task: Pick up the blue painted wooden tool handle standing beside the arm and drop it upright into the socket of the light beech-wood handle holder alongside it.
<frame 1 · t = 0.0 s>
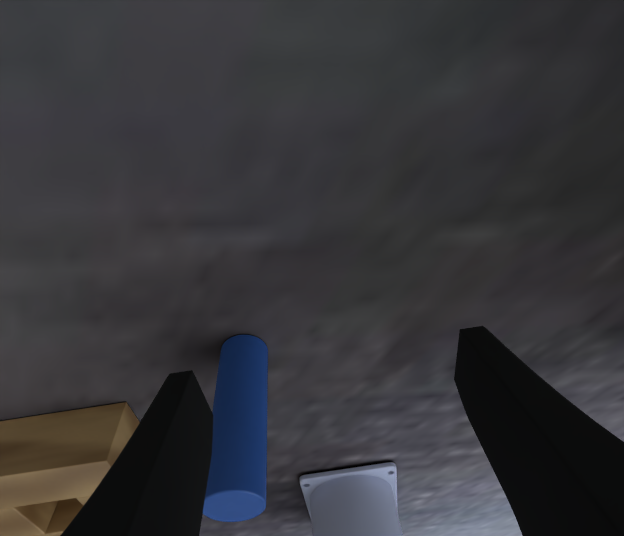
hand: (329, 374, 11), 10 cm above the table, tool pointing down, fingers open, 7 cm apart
handle: (244, 350, 25), on the table
holder: (82, 458, 30), on the table
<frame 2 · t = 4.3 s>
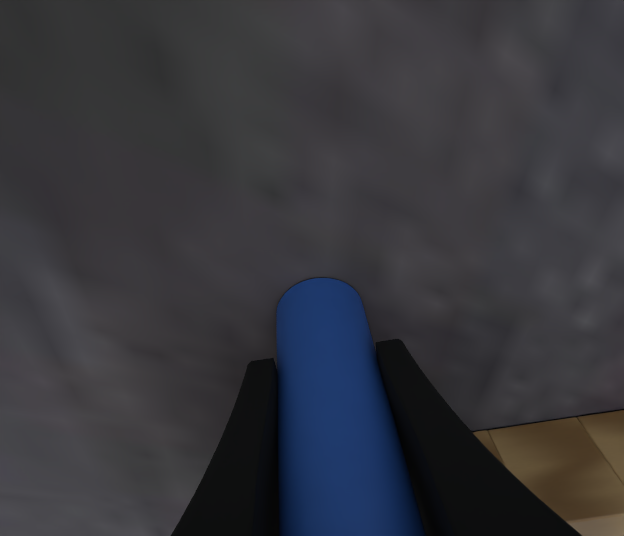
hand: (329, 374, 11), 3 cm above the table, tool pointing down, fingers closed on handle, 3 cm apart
handle: (319, 310, 13), on the table, touching gripper
holder: (512, 483, 21), on the table
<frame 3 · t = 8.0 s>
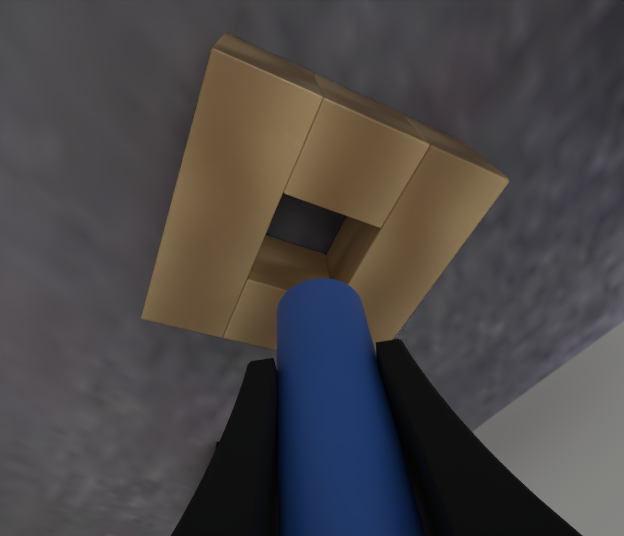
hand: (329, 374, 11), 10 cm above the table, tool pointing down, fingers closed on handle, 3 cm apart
handle: (319, 311, 13), point 7 cm above the table, touching gripper
holder: (305, 207, 19), on the table
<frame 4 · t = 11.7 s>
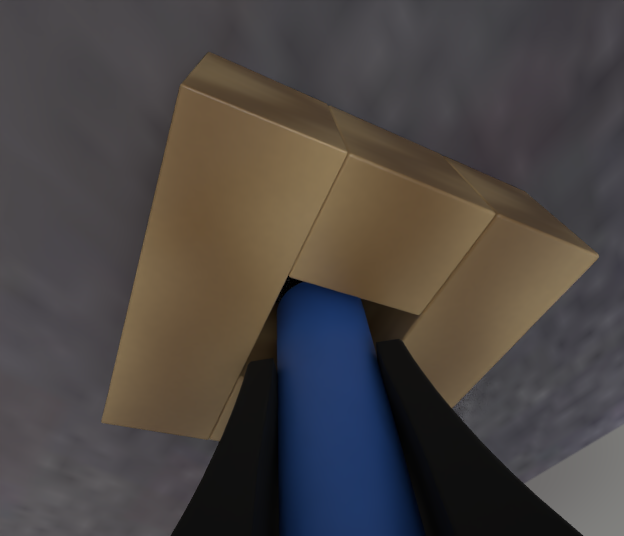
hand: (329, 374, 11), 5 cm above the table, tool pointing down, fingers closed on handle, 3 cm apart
handle: (319, 311, 13), point 2 cm above the table, touching gripper
holder: (314, 268, 15), on the table
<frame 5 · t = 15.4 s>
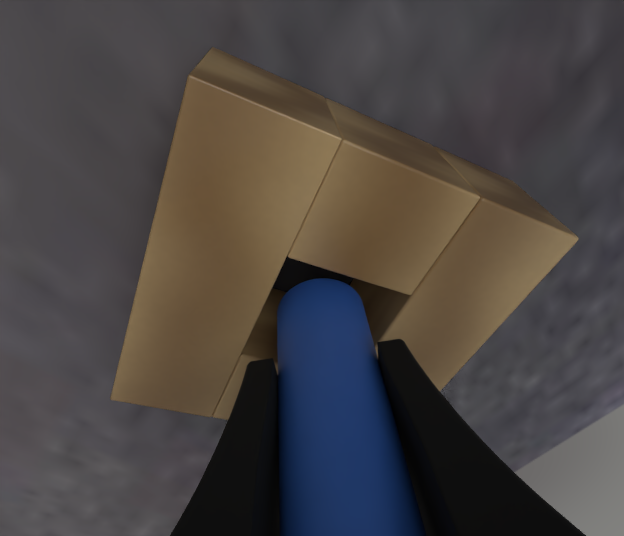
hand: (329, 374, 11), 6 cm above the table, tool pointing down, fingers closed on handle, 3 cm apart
handle: (320, 311, 13), point 3 cm above the table, touching gripper
holder: (312, 255, 16), on the table
when the fingers open (7 cm above the table, at t = 19.0 s): handle drops 4 cm, resting in holder.
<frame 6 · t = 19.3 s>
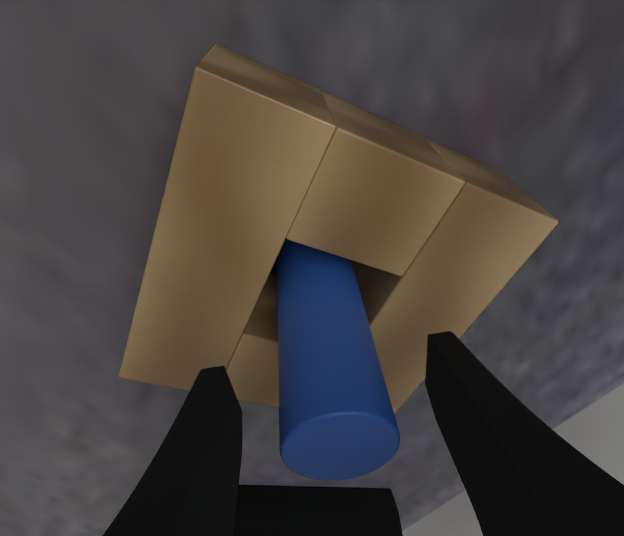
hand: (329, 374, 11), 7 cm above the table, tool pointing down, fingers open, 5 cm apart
handle: (310, 243, 17), resting in holder
battery charger: (293, 515, 31), on the table
holder: (310, 242, 17), on the table
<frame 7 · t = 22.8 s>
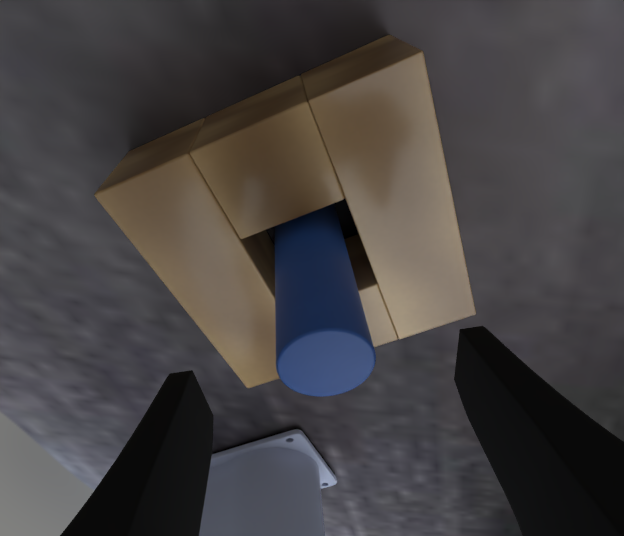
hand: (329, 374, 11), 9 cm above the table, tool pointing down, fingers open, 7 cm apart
handle: (305, 213, 19), resting in holder
holder: (305, 213, 19), on the table
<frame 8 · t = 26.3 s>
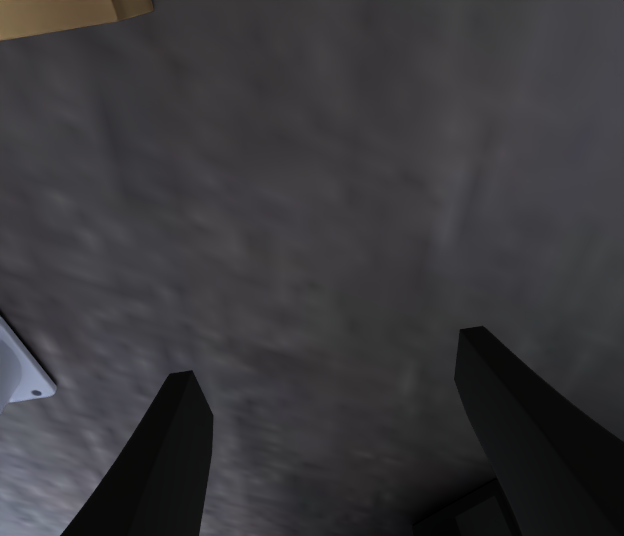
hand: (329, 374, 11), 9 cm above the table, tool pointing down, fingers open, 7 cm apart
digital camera: (460, 504, 38), on the table
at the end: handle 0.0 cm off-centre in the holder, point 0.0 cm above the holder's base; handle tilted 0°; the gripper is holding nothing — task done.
